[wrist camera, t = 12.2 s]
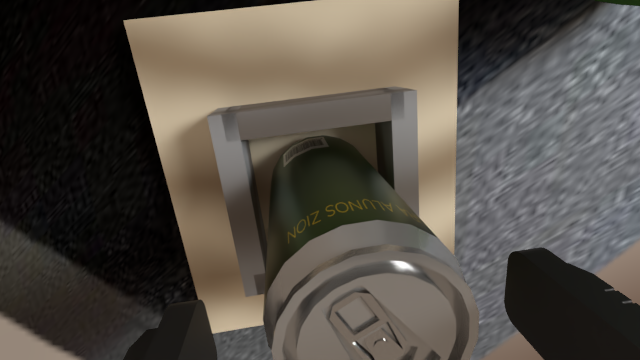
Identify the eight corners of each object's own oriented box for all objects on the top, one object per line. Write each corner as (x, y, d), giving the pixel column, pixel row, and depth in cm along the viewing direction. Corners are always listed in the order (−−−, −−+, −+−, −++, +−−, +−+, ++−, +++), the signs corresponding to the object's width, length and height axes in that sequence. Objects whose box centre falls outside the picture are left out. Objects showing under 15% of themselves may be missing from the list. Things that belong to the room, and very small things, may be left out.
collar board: (135, 23, 17) (89, 10, 13) (445, -9, 18) (495, -30, 14) (212, 317, 23) (197, 374, 19) (443, 278, 24) (478, 324, 20)
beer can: (250, 169, 19) (209, 331, 7) (333, 112, 18) (425, 192, 7) (307, 240, 20) (343, 459, 9) (384, 190, 20) (522, 354, 9)
